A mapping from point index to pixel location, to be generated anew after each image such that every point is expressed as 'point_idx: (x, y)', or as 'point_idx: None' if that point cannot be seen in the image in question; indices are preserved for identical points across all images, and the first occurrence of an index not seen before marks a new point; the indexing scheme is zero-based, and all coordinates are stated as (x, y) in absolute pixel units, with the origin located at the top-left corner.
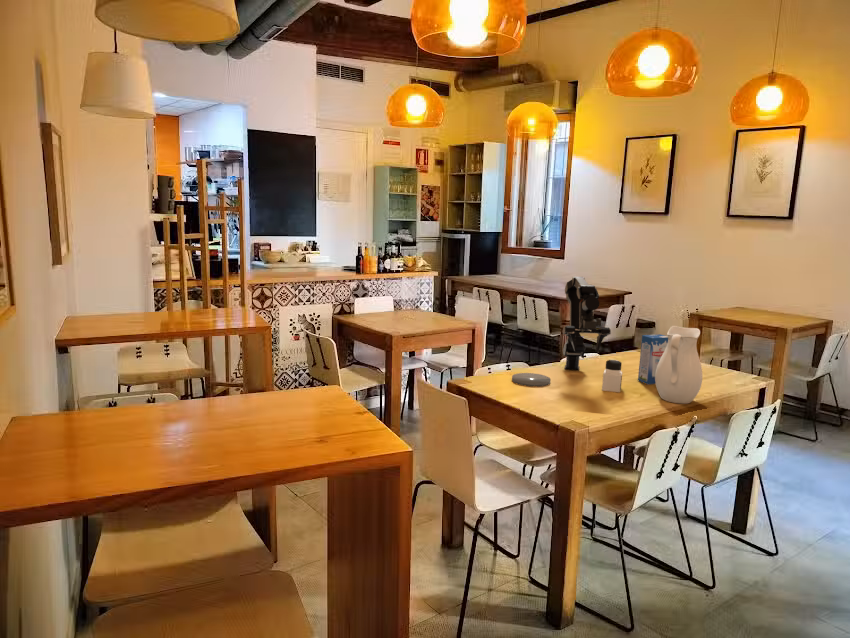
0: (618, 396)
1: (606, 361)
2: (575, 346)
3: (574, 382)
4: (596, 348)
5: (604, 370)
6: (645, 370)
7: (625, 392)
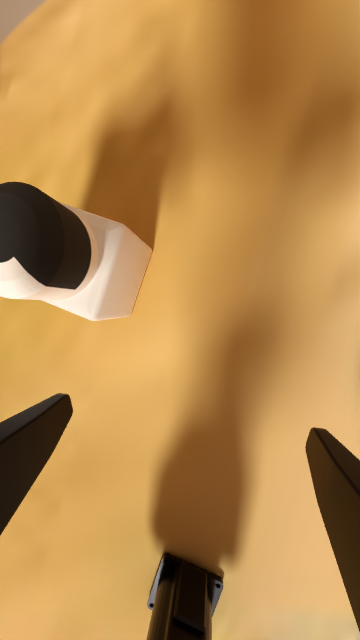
0: (112, 171)
1: (58, 253)
2: (349, 473)
3: (238, 366)
4: (49, 454)
5: (98, 302)
6: None
7: None
